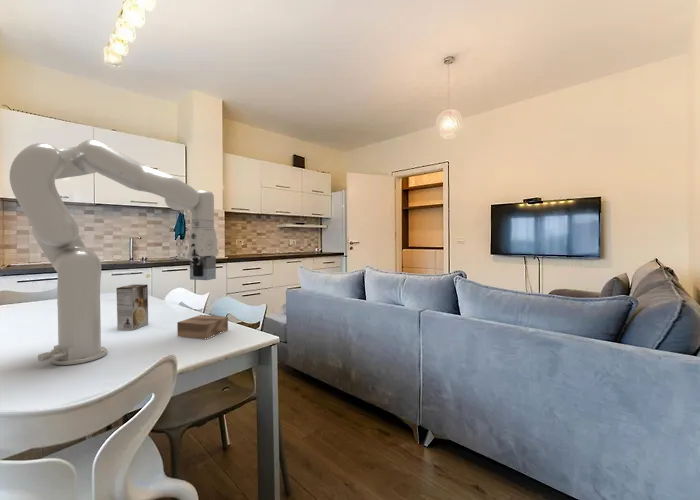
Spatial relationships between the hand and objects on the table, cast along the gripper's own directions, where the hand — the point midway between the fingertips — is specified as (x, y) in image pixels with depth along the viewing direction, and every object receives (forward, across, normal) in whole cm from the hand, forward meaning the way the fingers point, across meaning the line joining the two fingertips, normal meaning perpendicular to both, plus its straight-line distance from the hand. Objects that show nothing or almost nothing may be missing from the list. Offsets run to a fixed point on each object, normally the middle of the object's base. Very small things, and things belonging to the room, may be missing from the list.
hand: (203, 275), depth 121 cm
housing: (+2, 0, 0) cm, 2 cm away
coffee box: (+22, -1, +31) cm, 38 cm away
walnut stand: (+21, 0, 0) cm, 21 cm away
